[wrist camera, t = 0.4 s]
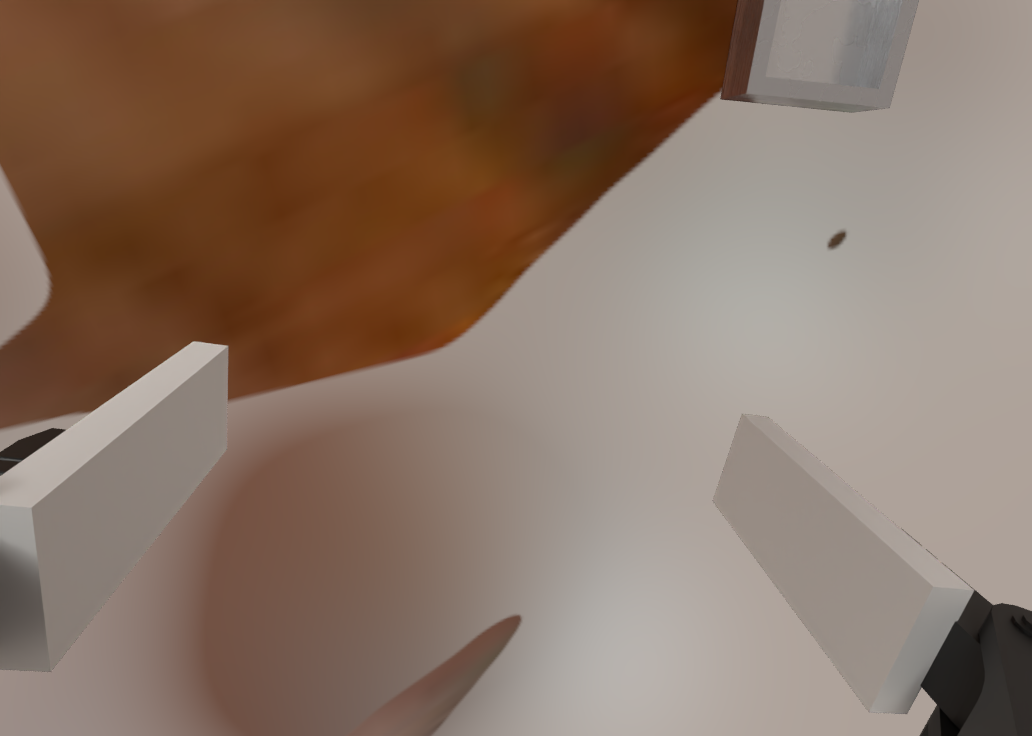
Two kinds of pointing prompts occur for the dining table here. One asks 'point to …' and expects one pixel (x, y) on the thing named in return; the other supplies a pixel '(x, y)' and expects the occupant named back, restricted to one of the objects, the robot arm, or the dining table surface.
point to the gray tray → (818, 52)
